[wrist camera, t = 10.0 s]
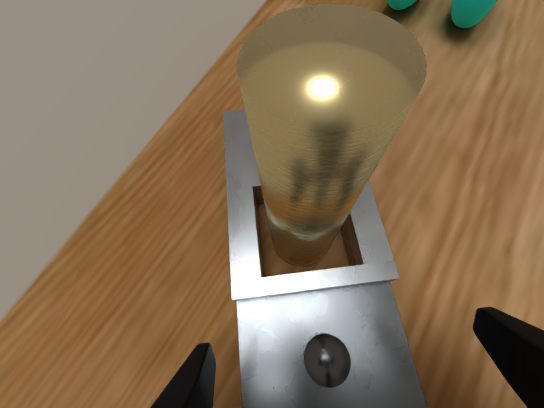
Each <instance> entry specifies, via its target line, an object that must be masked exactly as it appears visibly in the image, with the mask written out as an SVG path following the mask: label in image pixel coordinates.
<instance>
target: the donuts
mask: <svg viewBox="0 0 544 408" xmlns="http://www.w3.org/2000/svg"><path fill="white" fill-rule="evenodd" d="M416 1H417V0H387V2H388V4H389V6H390V7H391V8H393V9H395V10H402V9H405V8H407V7H409V6H411V5H412V4H413V3H415V2H416ZM496 1H497V0H453V2H452V6H451V17H452V21H453V23H454V24H455V25H456V26H458V27H460V28H469V27H472V26H474V25H476V24H477V23H479V22H480V21H481V20H482V19H483V18H484V17H485V16H486V15H487V14H488V12H489V11H490V10H491V8H492V7H493V6H494V4H495V3H496Z"/></svg>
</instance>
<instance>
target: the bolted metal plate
mask: <svg viewBox="0 0 544 408" xmlns="http://www.w3.org/2000/svg"><path fill="white" fill-rule="evenodd" d="M223 122H224V143H225V164H226V186H227V207H228V228H229V250H230V271H231V292H232V300H234V301H237V317H238V336H239V354H240V372H241V391H242V408H427V405H426V401H425V398H424V395H423V391H422V388H421V385H420V381H419V378H418V375H417V371H416V368H415V365H414V361H413V358H412V354H411V351H410V348H409V344H408V341H407V338H406V334H405V331H404V328H403V324H402V321H401V318H400V314H399V311H398V308H397V304H396V301H395V298H394V294H393V291H392V288H391V284H390V281H393V280H396V279H399V274H398V271H397V268H396V265H395V262H394V259H393V255H392V252H391V249H390V246H389V243H388V240H387V237H386V233H385V230H384V227H383V224H382V221H381V218H380V214H379V211H378V208H377V205H376V202H375V199H374V196H373V192H372V189H371V186H370V183H369V180H368V182H367V183H366V185H365V187H364V189H363V190H362V192H361V194H360V195H359V197H358V199H357V201H356V202H355V204H354V206H353V208H352V209H351V211H350V213H349V214H348V216H347V218H346V220H345V221H344V223H343V225H342V226H341V231H342V235H343V239H344V243H345V247H346V251H347V255H348V259H349V264H350V266H347V267H339V268H332V269H324V270H316V271H308V272H300V273H293V274H285V275H277V276H269V277H264V269H263V259H262V249H261V239H260V229H259V219H258V209H257V205H258V204H265V203H264V198H263V193H262V188H261V184H260V179H259V174H258V169H257V164H256V160H255V155H254V150H253V145H252V140H251V135H250V131H249V126H248V121H247V116H246V111H245V109H242V110H234V111H226V112H223Z"/></svg>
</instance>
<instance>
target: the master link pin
mask: <svg viewBox="0 0 544 408" xmlns="http://www.w3.org/2000/svg"><path fill="white" fill-rule="evenodd" d="M426 67H427V65H426V59H425V55H424V52H423V50H422V48H421V46H420V44H419V42H418V41H417V40H416V38H415V37H414V36H413V35H412V33H410V32H409V31H408V30H407V29H406V28H405V27H404V26H402V25H401V24H400V23H398V22H397V21H395V20H393V19H392V18H390V17H388V16H386V15H383V14H381V13H379V12H376V11H373V10H370V9H367V8H363V7H359V6H353V5H345V4H316V5H308V6H303V7H299V8H295V9H291V10H288V11H285V12H283V13H280V14H278V15H276V16H274V17H272V18H270V19H268V20H267V21H265V22H264V23H262V24H261V25H260V26H258V27H257V28H256V29H255V30H254V31H253V32H252V33H251V34H250V35H249V36H248V38H247V39H246V40H245V42H244V43H243V45H242V47H241V50H240V52H239V56H238V61H237V71H238V78H239V83H240V87H241V92H242V97H243V102H244V107H245V111H246V116H247V121H248V126H249V131H250V135H251V140H252V145H253V150H254V155H255V160H256V164H257V169H258V174H259V179H260V184H261V188H262V193H263V198H264V203H265V208H266V212H267V217H268V222H269V227H270V232H271V236H272V241H273V245H274V248H275V250H276V252H277V254H278V255H279V256H280V257H281V258H282V259H283V260H284V261H286V262H288V263H290V264H292V265H296V266H308V265H312V264H314V263H316V262H318V261H319V260H320V259H322V258H323V257H324V255H325V254H326V252H327V251H328V249H329V247H330V245H331V244H332V242H333V240H334V239H335V237H336V235H337V233H338V232H339V230H340V228H341V226H342V225H343V223H344V221H345V220H346V218H347V216H348V214H349V213H350V211H351V209H352V208H353V206H354V204H355V202H356V201H357V199H358V197H359V195H360V194H361V192H362V190H363V189H364V187H365V185H366V183H367V182H368V180H369V178H370V177H371V175H372V173H373V171H374V170H375V168H376V166H377V164H378V163H379V161H380V159H381V158H382V156H383V154H384V152H385V151H386V149H387V147H388V146H389V144H390V142H391V140H392V139H393V137H394V135H395V133H396V132H397V130H398V128H399V127H400V125H401V123H402V121H403V120H404V118H405V116H406V114H407V113H408V111H409V109H410V108H411V106H412V104H413V102H414V101H415V99H416V97H417V96H418V94H419V92H420V90H421V88H422V86H423V84H424V81H425V77H426Z"/></svg>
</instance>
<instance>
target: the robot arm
mask: <svg viewBox="0 0 544 408" xmlns="http://www.w3.org/2000/svg"><path fill="white" fill-rule="evenodd" d="M473 330H474V333H475V335H476V336H477V338H478V339H479V341H480V342H481V344H482V345H483V347H484V348H485V350H486V351H487V353H488V354H489V356H490V357H491V359H492V360H493V361H494V363H495V364H496V366H497V367H498V369H499V370H500V372H501V373H502V375H503V376H504V378H505V379H506V380H507V382H508V383H509V384H510V386H511V387H512V388H513V390H514V391H515V392H516V394H517V395H518V396H519V397H520V399H521V400H522V401H523V402H524V404H525V405H526V406H527V407H528V408H544V330H541V329H539V328H537V327H535V326H533V325H530V324H528V323H526V322H524V321H521V320H519V319H517V318H515V317H513V316H510V315H508V314H506V313H504V312H502V311H499V310H497V309H495V308H493V307H483V308H478V309H477V310H476V313H475V318H474V322H473ZM215 371H216V361H215V356H214V353H213V349H212V346H211V344H210V343H201V344H198V345H197V346H196V347H195V348H194V350H193V351H192V352H191V354H190V355H189V357H188V358H187V359H186V361H185V362H184V363H183V365H182V366H181V367H180V369H179V370H178V371H177V373H176V374H175V375H174V377H173V378H172V379H171V381H170V382H169V383H168V385H167V386H166V387H165V389H164V390H163V392H162V393H161V394H160V396H159V397H158V398H157V400H156V401H155V402H154V404H153V405H152V406H151V408H213V396H214V383H215Z"/></svg>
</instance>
